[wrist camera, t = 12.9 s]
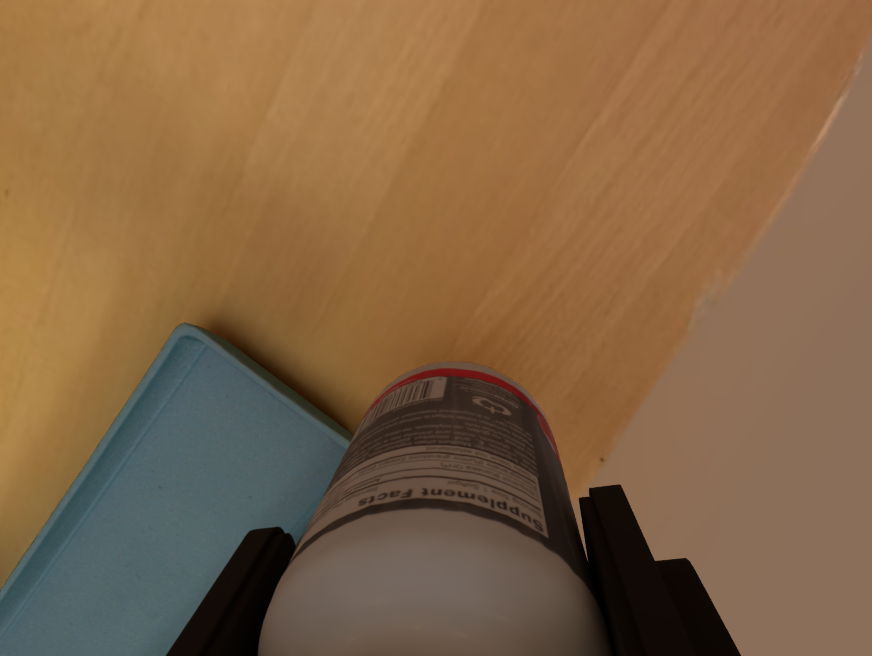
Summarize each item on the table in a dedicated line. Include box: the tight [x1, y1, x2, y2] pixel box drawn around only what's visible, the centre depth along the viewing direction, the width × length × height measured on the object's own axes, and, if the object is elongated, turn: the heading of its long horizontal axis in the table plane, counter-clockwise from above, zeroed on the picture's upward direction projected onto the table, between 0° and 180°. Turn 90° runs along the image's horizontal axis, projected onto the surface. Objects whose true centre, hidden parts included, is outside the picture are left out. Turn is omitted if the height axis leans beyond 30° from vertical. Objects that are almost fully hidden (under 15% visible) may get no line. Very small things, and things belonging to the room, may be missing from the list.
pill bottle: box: [257, 362, 613, 656], centre depth 9 cm, size 5×5×10 cm
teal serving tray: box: [0, 323, 354, 656], centre depth 23 cm, size 26×9×2 cm, turn 141°
